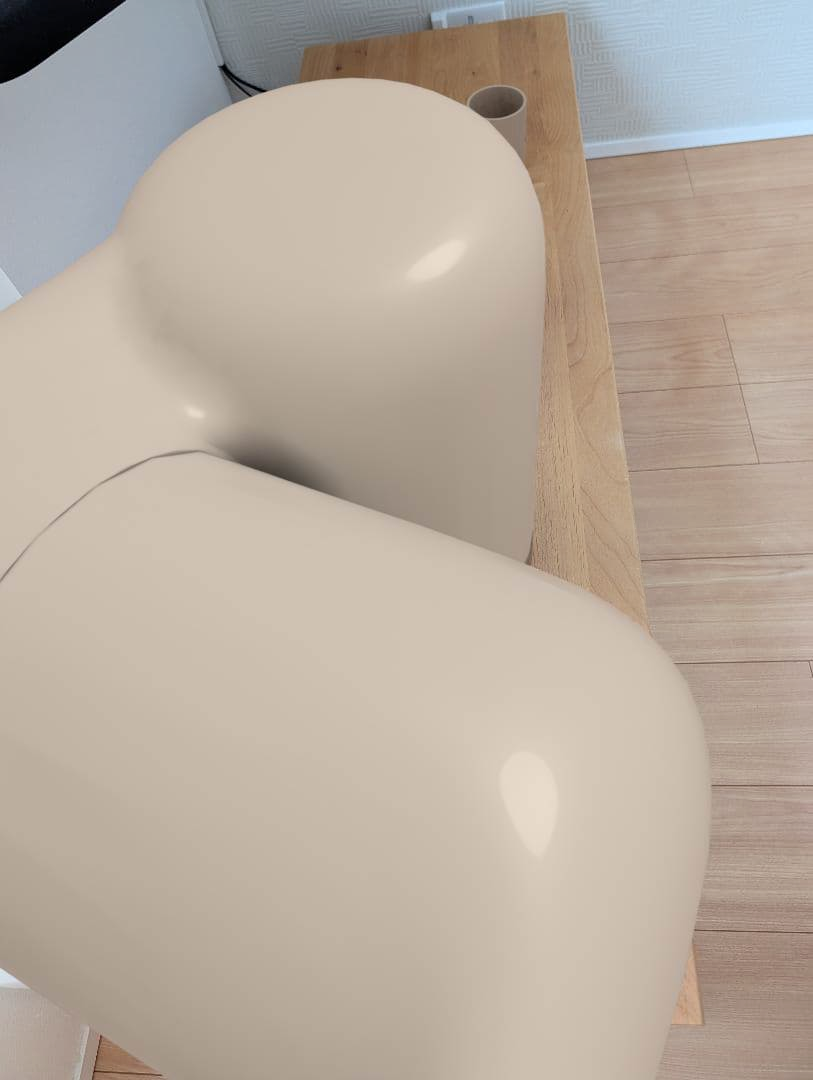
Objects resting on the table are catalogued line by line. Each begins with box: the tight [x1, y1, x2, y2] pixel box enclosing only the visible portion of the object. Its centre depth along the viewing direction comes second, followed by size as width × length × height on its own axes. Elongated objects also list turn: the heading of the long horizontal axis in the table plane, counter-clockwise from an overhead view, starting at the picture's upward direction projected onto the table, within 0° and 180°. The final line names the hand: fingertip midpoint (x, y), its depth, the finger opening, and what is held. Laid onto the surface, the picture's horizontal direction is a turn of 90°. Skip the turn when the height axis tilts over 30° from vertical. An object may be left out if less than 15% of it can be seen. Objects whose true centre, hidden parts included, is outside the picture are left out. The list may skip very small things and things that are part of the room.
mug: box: [465, 84, 528, 167], centre depth 117 cm, size 12×9×10 cm
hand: (444, 731), depth 38 cm, fingers closed on small box, 7 cm apart
